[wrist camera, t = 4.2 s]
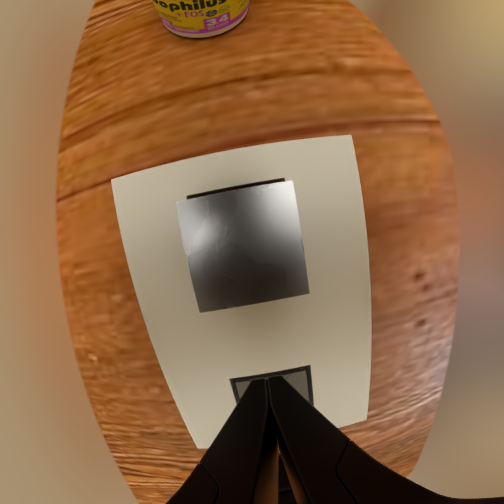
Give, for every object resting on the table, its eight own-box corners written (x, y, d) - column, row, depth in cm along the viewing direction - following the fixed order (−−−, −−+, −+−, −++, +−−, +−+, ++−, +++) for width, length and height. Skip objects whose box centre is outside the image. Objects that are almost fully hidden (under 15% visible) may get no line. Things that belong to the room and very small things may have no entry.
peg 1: (288, 262, 15) (309, 293, 10) (213, 275, 15) (199, 312, 10) (275, 186, 14) (292, 180, 9) (198, 200, 14) (175, 202, 9)
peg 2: (297, 374, 20) (310, 417, 15) (247, 383, 20) (248, 427, 15) (292, 331, 19) (305, 370, 14) (236, 341, 19) (235, 382, 14)
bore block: (346, 380, 21) (366, 419, 16) (204, 405, 21) (197, 448, 16) (323, 150, 17) (351, 134, 12) (144, 183, 17) (110, 179, 12)
